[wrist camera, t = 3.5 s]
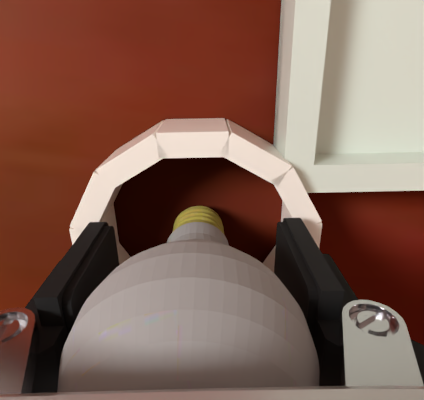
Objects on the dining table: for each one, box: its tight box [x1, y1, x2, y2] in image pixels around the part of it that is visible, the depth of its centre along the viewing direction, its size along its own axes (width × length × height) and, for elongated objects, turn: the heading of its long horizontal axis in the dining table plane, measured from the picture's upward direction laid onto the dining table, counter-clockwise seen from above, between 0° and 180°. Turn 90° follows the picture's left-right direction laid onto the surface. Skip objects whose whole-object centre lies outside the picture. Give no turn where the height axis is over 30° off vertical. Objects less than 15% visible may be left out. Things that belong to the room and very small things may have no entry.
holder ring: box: [69, 118, 322, 273], centre depth 13 cm, size 9×9×3 cm
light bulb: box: [57, 206, 320, 393], centre depth 10 cm, size 6×5×10 cm
